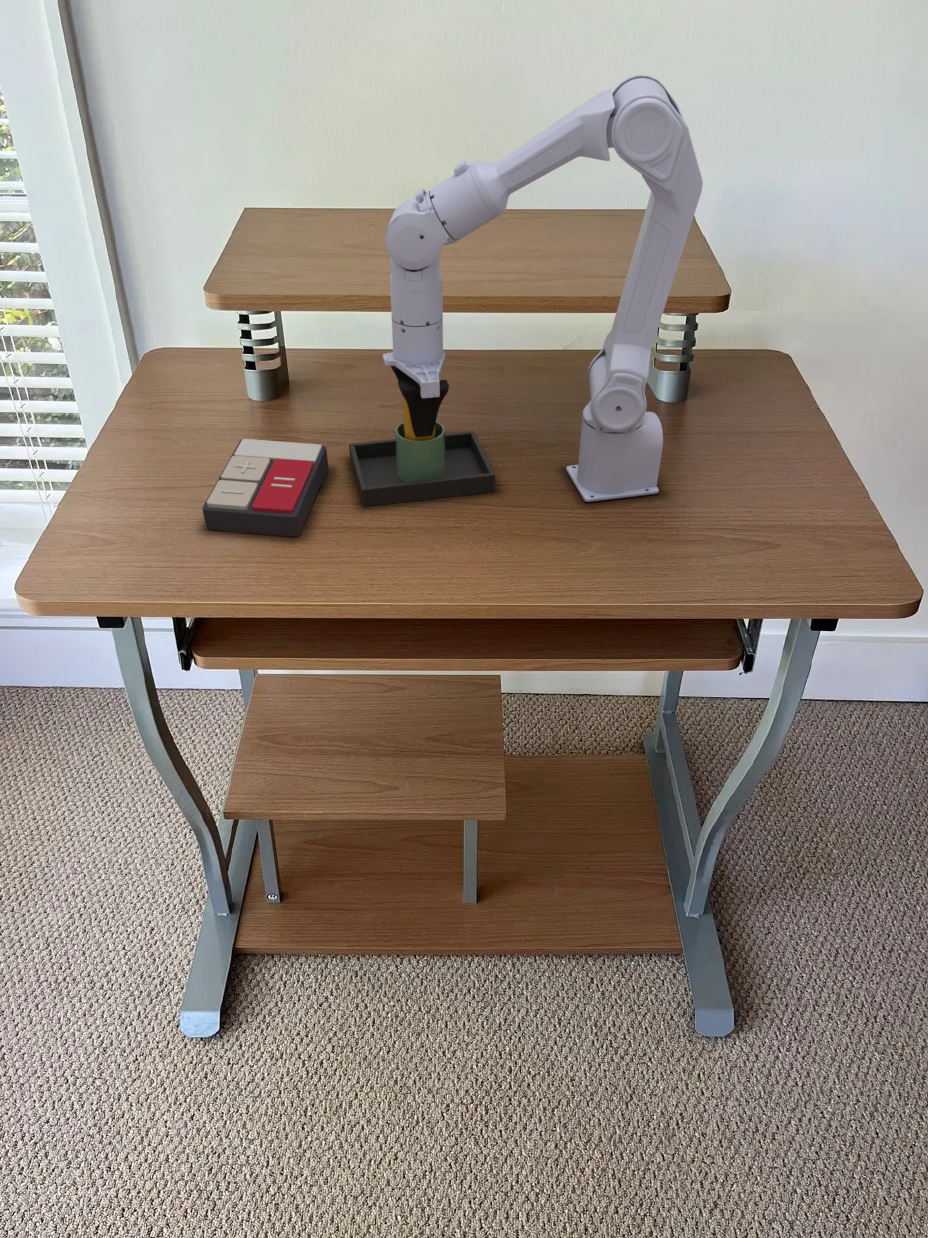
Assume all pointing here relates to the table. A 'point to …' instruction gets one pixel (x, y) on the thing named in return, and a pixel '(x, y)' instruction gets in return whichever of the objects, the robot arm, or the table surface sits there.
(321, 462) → the calculator
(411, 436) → the mustard cup
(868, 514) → the table surface
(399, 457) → the green cup
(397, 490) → the tray
